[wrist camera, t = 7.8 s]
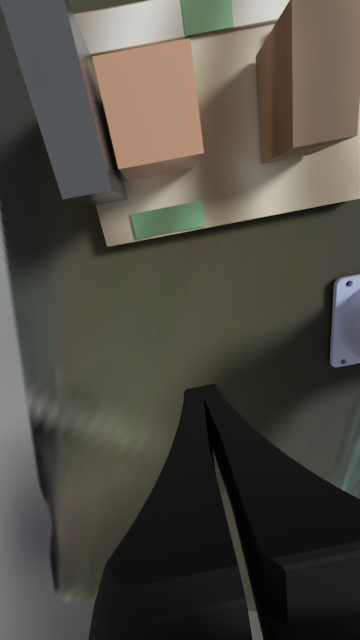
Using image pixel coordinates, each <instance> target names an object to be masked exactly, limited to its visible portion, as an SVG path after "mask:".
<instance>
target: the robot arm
mask: <svg viewBox="0 0 360 640" xmlns="http://www.w3.org/2000/svg"><path fill="white" fill-rule="evenodd" d="M348 281H349V284H348V285H347V286H346V283H347V282H348ZM341 360H343V361H342V362H341ZM357 363H360V274H357V275H352V276H347V277H342V278H339V279H337V280H336V281H335V282H334V289H333V309H332V329H331V348H330V364H331V365H332V366H333V367H342V366H347V365H352V364H357ZM212 448H213V450H212ZM213 451H214V454H215V457H216V460H217V463H218V466H219V470H220V473H221V476H222V479H223V482H224V485H225V488H226V491H227V494H228V497H229V500H230V503H231V507H232V510H233V514H234V518H235V522H236V526H237V530H238V534H239V538H240V542H241V547H242V551H243V555H244V559H245V563H246V567H247V572H248V576H249V580H250V584H251V588H252V593H253V597H254V601H255V605H256V610H257V614H258V618H259V622H260V626H261V631H262V635H263V639H264V640H360V499H358V498H356V497H354V496H352V495H350V494H349V493H347V492H345V491H343V490H341V489H339V488H337V487H336V486H334V485H332V484H331V483H329V482H327V481H326V480H324V479H322V478H321V477H319V476H317V475H316V474H314V473H313V472H311V471H310V470H308V469H307V468H305V467H304V466H302V465H301V464H299V463H298V462H296V461H295V460H293V459H292V458H291V457H289V456H288V455H287V454H285V453H284V452H283V451H281V450H280V449H279V448H277V447H276V446H275V445H274V444H272V443H271V442H270V441H269V440H267V439H266V438H265V437H264V436H263V435H262V434H260V433H259V432H258V431H257V430H256V429H255V428H254V427H253V426H252V425H251V424H250V423H249V422H248V421H247V420H246V419H245V418H244V417H243V416H242V415H241V414H240V413H239V412H238V411H237V410H236V409H235V408H234V407H233V406H232V404H231V403H230V402H229V401H228V400H227V398H226V397H225V396H224V395H223V393H222V392H221V391H220V389H219V388H218V386H217V385H215V384H211V385H206V386H201V387H196V388H191V389H186V390H185V392H184V403H183V409H182V414H181V418H180V422H179V426H178V429H177V432H176V435H175V438H174V441H173V444H172V447H171V450H170V453H169V455H168V458H167V460H166V462H165V465H164V467H163V469H162V471H161V473H160V475H159V478H158V480H157V482H156V484H155V486H154V488H153V490H152V492H151V493H150V495H149V497H148V499H147V501H146V502H145V504H144V506H143V507H142V509H141V511H140V513H139V514H138V516H137V518H136V519H135V521H134V523H133V524H132V526H131V527H130V529H129V531H128V532H127V533H126V535H125V536H124V538H123V539H122V541H121V542H120V544H119V545H118V547H117V548H116V550H115V551H114V553H113V554H112V555H111V557H110V558H109V560H108V561H107V563H106V566H105V569H104V572H103V575H102V578H101V582H100V585H99V589H98V593H97V597H96V601H95V605H94V609H93V615H92V621H91V628H90V634H89V640H252V634H251V628H250V622H249V615H248V608H247V603H246V598H245V594H244V589H243V585H242V580H241V576H240V572H239V567H238V563H237V559H236V555H235V551H234V547H233V543H232V539H231V535H230V531H229V527H228V523H227V519H226V515H225V511H224V507H223V503H222V498H221V494H220V490H219V486H218V482H217V478H216V473H215V465H214V458H213Z"/></svg>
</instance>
